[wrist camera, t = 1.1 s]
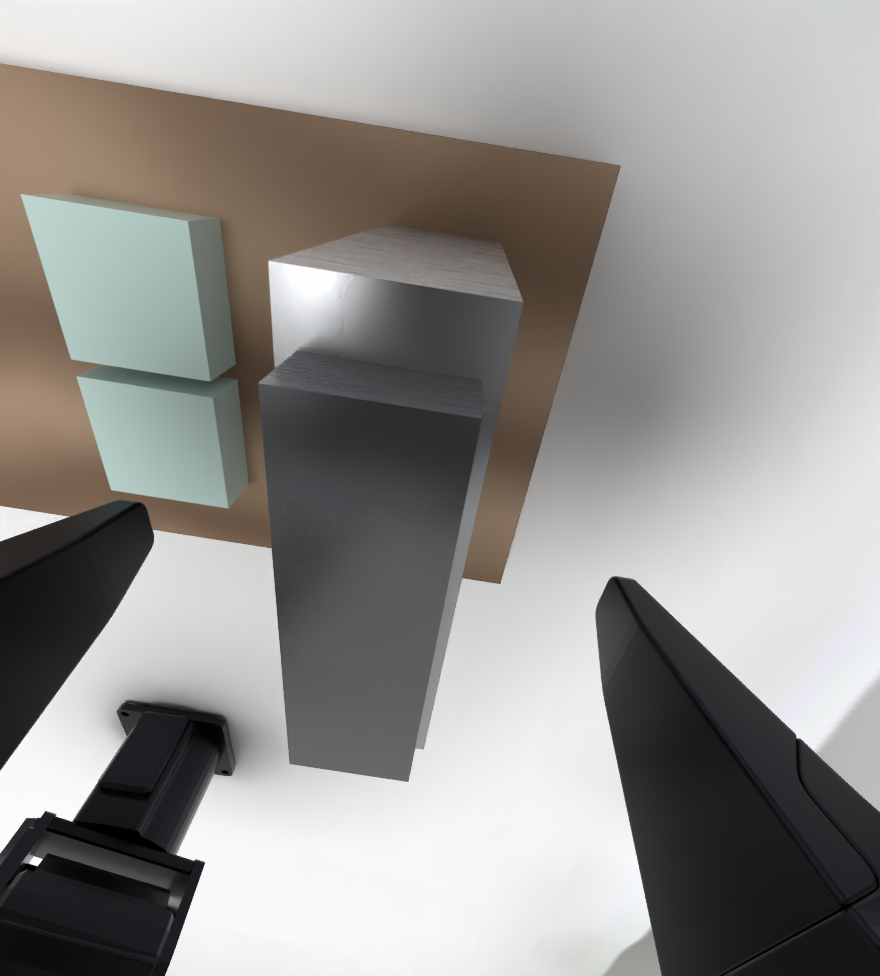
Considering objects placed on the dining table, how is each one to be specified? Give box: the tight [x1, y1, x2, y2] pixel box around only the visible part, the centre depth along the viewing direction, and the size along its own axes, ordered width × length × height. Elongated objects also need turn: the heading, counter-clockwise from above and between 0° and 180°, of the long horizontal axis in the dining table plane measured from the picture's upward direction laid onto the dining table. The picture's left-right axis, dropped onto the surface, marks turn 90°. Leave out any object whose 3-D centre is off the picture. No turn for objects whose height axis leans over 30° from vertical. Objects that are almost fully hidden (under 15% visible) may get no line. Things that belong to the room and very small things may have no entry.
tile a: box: [76, 365, 249, 509], centre depth 15 cm, size 4×4×2 cm
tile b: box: [21, 194, 236, 382], centre depth 13 cm, size 4×4×2 cm
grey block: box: [258, 224, 523, 782], centre depth 11 cm, size 10×3×9 cm, turn 172°
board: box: [0, 64, 621, 584], centre depth 15 cm, size 14×25×2 cm, turn 82°
